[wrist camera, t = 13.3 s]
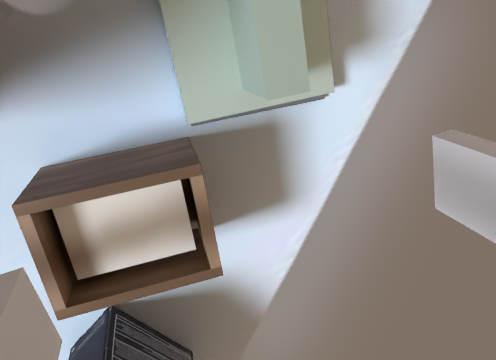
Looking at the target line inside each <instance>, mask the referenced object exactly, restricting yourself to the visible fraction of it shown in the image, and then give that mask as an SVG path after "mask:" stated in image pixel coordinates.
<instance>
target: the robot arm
mask: <svg viewBox="0 0 496 360" xmlns="http://www.w3.org/2000/svg"><path fill="white" fill-rule="evenodd" d="M432 139H433V162H434V163H433V164H434V187H435V188H434V189H435V208H436V209H438V210H439V211H441V212H443V213H445V214H446V215H448V216H450V217H451V218H453V219H455V220H457V221H458V222H460V223H462V224H463V225H465V226H467V227H468V228H470V229H472V230H474V231H475V232H477V233H479V234H481V235H482V236H484V237H486V238H487V239H489V240H491V241H492V242H494V243H496V143H495V142H492V141H488V140H485V139H482V138H479V137H476V136H472V135H469V134H465V133H463V132H460V131H456V130H453V129H452V130H448V131H445V132H443V133H439V134H436V135H433V136H432ZM61 343H62V339H61V338H60V336H59V334H58V332H57V330H56V328H55V326H54V324H53V323H52V321H51V319H50V317H49V315H48V313H47V311H46V310H45V308H44V306H43V304H42V302H41V300H40V298H39V296H38V295H37V293H36V291H35V289H34V287H33V285H32V283H31V281H30V280H29V278H28V276H27V274H26V272H25V270H24V268H20V269H17V270H14V271H10V272H7V273H4V274H1V275H0V360H58V357H59V352H60V348H61Z"/></svg>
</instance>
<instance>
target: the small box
mask: <svg viewBox="0 0 496 360" xmlns="http://www.w3.org/2000/svg"><path fill="white" fill-rule="evenodd" d="M69 360H193V353H192V352H191V351H189V350H188V349H186V348H184V347H183V346H181V345H179V344H177V343H176V342H174V341H172V340H171V339H169V338H167V337H165V336H164V335H162V334H160V333H158V332H157V331H155V330H153V329H151V328H150V327H148V326H146V325H145V324H143V323H141V322H139V321H138V320H136V319H134V318H132V317H131V316H129V315H127V314H125V313H124V312H122V311H120V310H118V309H116V308H115V307H113V306H111V307H108V308H107V309H106V310H105V311H104V313H103V315H102V316H101V317H99V319H98V320H97V321H96V322H95V323H94V324H93V325H92V326H91V327H90V329H88V330H87V332H86V333H85V334H84V335H83V336H81V337H80V338H79V339H78V341H77V342H76V343H75V345H74V346H73V347H72V348H71V350H70V356H69Z"/></svg>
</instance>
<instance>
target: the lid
mask: <svg viewBox="0 0 496 360" xmlns="http://www.w3.org/2000/svg"><path fill="white" fill-rule="evenodd" d="M159 3H160V8H161V12H162V16H163V21H164V25H165V29H166V34H167V38H168V42H169V47H170V51H171V56H172V60H173V64H174V69H175V73H176V77H177V82H178V86H179V91H180V95H181V99H182V104H183V108H184V112H185V117H186V121H187V123H188V124H193V123H197V122H202V121H206V120H211V119H215V118H220V117H224V116H229V115H233V114H238V113H242V112H247V111H251V110H256V109H260V108H265V107H269V106H274V105H278V104H283V103H287V102H292V101H296V100H301V99H305V98H310V97H314V96H319V95H323V94H328V93H332V92H334V81H333V70H332V59H331V47H330V36H329V25H328V14H327V3H326V0H159Z"/></svg>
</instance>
